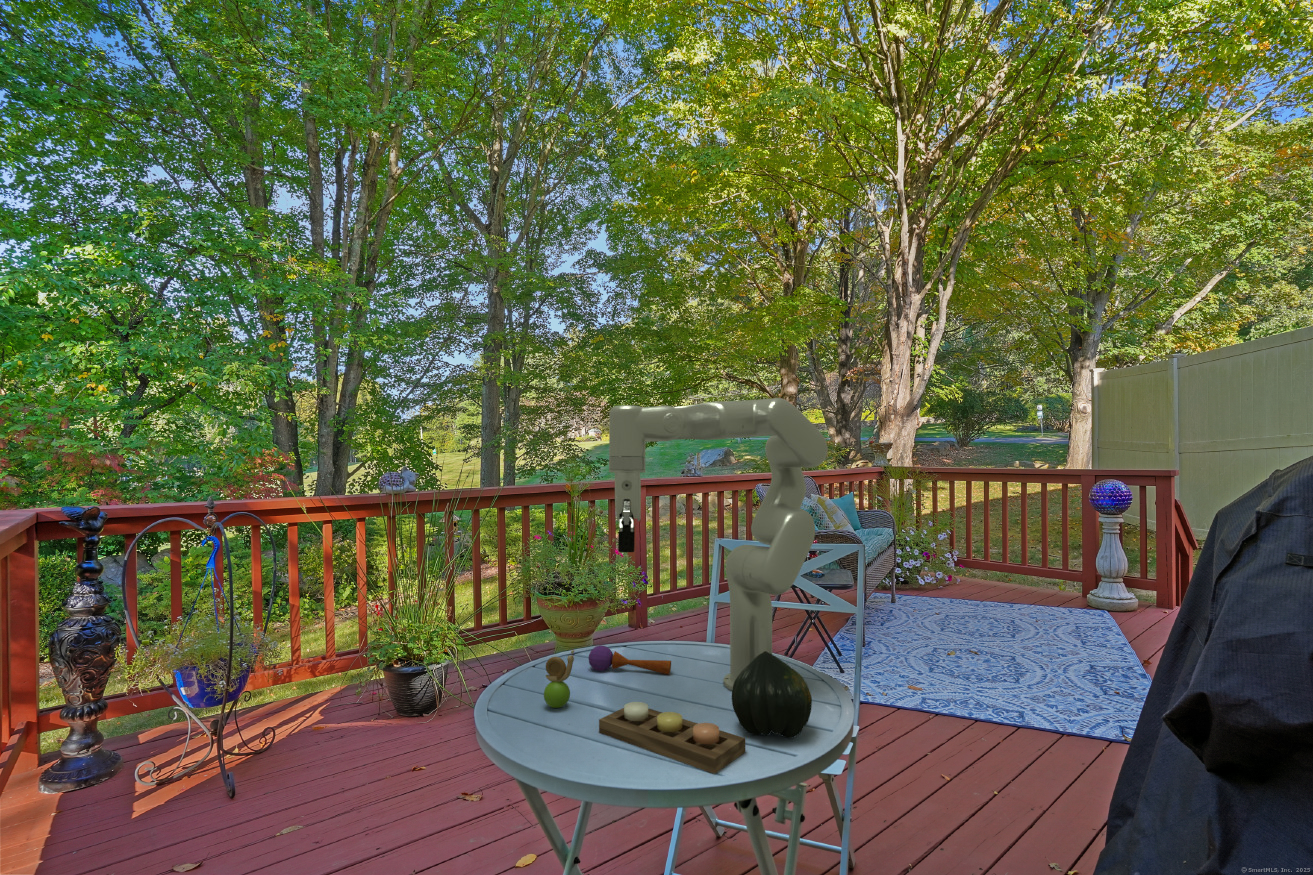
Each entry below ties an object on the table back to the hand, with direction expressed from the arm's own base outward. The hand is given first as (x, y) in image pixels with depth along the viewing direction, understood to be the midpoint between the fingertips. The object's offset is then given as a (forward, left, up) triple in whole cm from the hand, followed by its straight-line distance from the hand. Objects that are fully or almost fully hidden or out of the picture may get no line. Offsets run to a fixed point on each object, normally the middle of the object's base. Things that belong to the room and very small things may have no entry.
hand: (626, 548), depth 136 cm
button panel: (+6, +16, -33) cm, 37 cm away
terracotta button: (+6, +24, -30) cm, 39 cm away
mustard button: (+6, +16, -31) cm, 35 cm away
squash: (-10, +28, -34) cm, 45 cm away
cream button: (+6, +8, -30) cm, 32 cm away
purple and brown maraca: (-19, -15, -34) cm, 42 cm away
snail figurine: (+7, -12, -34) cm, 36 cm away
